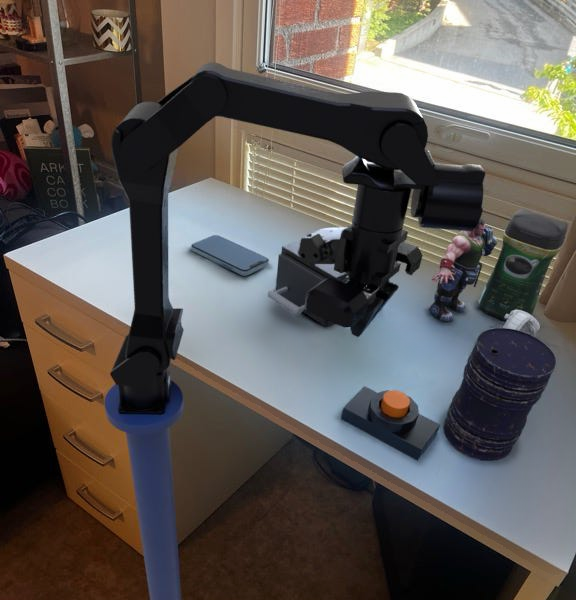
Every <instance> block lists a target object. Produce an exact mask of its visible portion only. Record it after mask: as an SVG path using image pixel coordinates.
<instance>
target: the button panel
mask: <svg viewBox="0 0 576 600" xmlns="http://www.w3.org/2000/svg"><path fill="white" fill-rule="evenodd" d="M391 390H392V389H391ZM391 390H389V389H386V390H382V391H378V392H377V391H376V390H373V389H371V388H369V387H368V386H363V387H362V388H361V389H360V390H359V391H358V392H357V393H356V394H355V395H354V396H353V397H352V398H351V399H350V400H349V401H348V402H347V403H346V404H345V405H344V406H343V407H342V412H341V416H340V420H342V421H344V422H346V423H348V424H349V425H351V426H353V427H355V428H357V429H359V430H361V431H362V432H364V433H366V434H368V435H369V436H372V437H373V438H375V439H377V440H379V441H381V443H382V442H383V443H384V444H386V445H388V446H389V447H392V448H394V449H395V450H397V451H399V452H401V453H402V454H404V455H407V456H408V457H409V458H411V459H414V460H415V461H419V460H420V459H421V457H422V456H423V455H424V453H425V452H426V451H427V449H428V448H429V447H430V446H431V444H432V442H433V441H434V440H435V438H436V437H437V435H438V432H439V430H440V427H441V424H440V423H438V422H436V421H434V420H433V419H430V418H428V417H426V416H424V415H423V414H421V413H420V412H419V405H418V404H417V403H416V401H415V400H413V398H412V397H411V396H410V395H407V396H408V397H409V399H410V404H409V408H408V411H407V413H406V415H405V416H403V417H400V418H396V417H391V416H389V415H387V414H385V413H384V412H383V411H382V409H381V403H382V399H383V395H384V394H385V393H386V392H387V391H391Z"/></svg>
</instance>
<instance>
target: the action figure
mask: <svg viewBox="0 0 576 600" xmlns="http://www.w3.org/2000/svg"><path fill="white" fill-rule="evenodd" d="M458 231H459V232H458V233H457V234H456V235H455V236H454V237H453V239H452V240H451V242H450V244H448V246H447V247H446V251H445V254H444V255H443V256H442V258H441V259H440V263H439V269H438V272H437V273H436V275H433V277H432V278H431V281H433V282H437V287H436V291H435V293H434V301H433V302H432V303H431V304H430V306H429V307H428V312H429V314H430V315H431V316H432V317H433V318H435V319H437V321H440V322H441V323H449V322H451V321H452V320H453V318H454V317H453V313H452V312H451V311H449V310H447V308H449V309H451V310H453V311H454V312H457V313H463V312H464V310H465V309H466V304H465V303H464V302H463V301H462V300H460V299H459V295H460V294H461V293H463V290H464V289H466V287H467V286H468V285H469V286H472V285H473V288H476V287H477V285H478V281H479V278H480V275H481V271H482V269H483V263H482V262H480V261H481V258H482V256H483V257H488V256H490V255H491V254H492V253H493V250H494V248H495V247H496V246H497V244H498V240H497V238H496V237H495V236H494V229H493V228H492V227H490V226H487V225H486V221H485V220H484V219H483V218H482V217H481V218H480V220H479V223H478V225H477V227H476V228H475V229H474V230H473V231H460V230H458Z"/></svg>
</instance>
